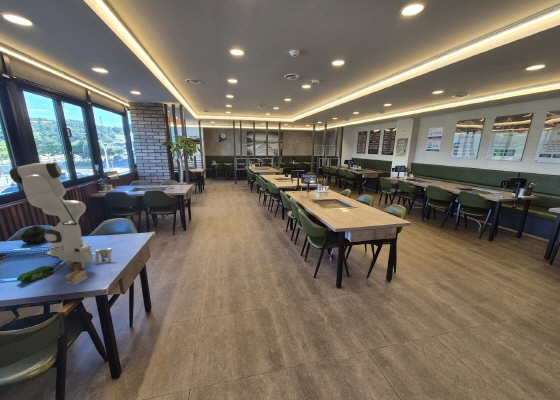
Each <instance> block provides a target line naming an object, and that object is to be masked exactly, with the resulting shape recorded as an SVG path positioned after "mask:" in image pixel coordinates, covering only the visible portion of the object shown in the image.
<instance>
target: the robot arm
mask: <svg viewBox="0 0 560 400" xmlns="http://www.w3.org/2000/svg"><path fill="white" fill-rule="evenodd" d="M62 173H63V172H62V168H61V167H60V165H58V163H56V162H55V161H46V162H36V163H35V162H34V163H31V164H30V163H29V164H25V165H21V166H19V165H18V166H15V167H11V169H10V170H9V177H10V178H11V180H12V181H13V182H14V183H15V184H18V185H21V186H22V188H23V192H24V194H25V196H26V198H27V201H28V202H29V204H30V205H31V206H33V207H34V208H39V209H41V210H42V212H43V213H44V214H46V215H48V216H49V215H50V216H57V217H58V219H59V220H60V222H58V223H57V225H55V226H52V227H49V228H47V229H46V231H45V232H44V238H45V241H46V242H48V243H50V247H49V249H50V250H49V251H47V252H45V253H46V255H49V256H53V257H57V258H58V260H60V261H64V262H66V264H67V265H68V266H69V264H70V263H72V262H81V264H82V265H81V266H80V267H81V268H82V269H85V268H86V263H90V262H92V260H93V252H92V247H91V245H90V244H88V243H85V242H84V241H83V238H82V231H81V226H80V224H79V219H80V217H81V216H82V215H83V214H85V212H86V209H87V205H86V204H85V203H84V202H83V201H80V200H74V199H72V200H69V199H67V200H66V199H64V196H65V194H66V192H67V190H66V188H65V186H64V185H63V183H62V181H61V180H60V178H59V177H61V176H62Z"/></svg>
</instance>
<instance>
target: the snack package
mask: <svg viewBox="0 0 560 400" xmlns="http://www.w3.org/2000/svg"><path fill="white" fill-rule="evenodd" d="M54 270H55V268H54V266H51V265H49V266H48V265H43V266H42V265H41V266H39V267H37V268H34V269H31V270H29V271H28V270H27V271H25V272H23V273H21V274H20V275H18V277H17V278H16V281H19V282H20V283H23V282H25V283H31V282H34V281H36V280H39V278H40V279H42V278H44V277H47V276H49V275H51V274H52V273H53V272H54Z"/></svg>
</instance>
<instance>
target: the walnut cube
mask: <svg viewBox="0 0 560 400" xmlns="http://www.w3.org/2000/svg"><path fill="white" fill-rule="evenodd" d="M71 262H72V263H70V264H69V265H68V267H69V271H73V272H74V271H76V270H79V271H81V270H83V268H81V267H80V266H81V265H82V264H81V262H73V261H71Z"/></svg>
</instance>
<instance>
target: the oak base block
mask: <svg viewBox="0 0 560 400" xmlns="http://www.w3.org/2000/svg"><path fill="white" fill-rule="evenodd" d="M86 277H88V276H87V272H86V271H85V270H76V271H73V272H70V273H68V274H66V275H65V278H66V282H71V283H70V284H74V283H77V284H79V283H80V282H79V281H81V280H82V281H84V280H86V279H87V278H86ZM85 278H86V279H85ZM83 279H84V280H83ZM82 281H81V282H82ZM78 282H79V283H78Z"/></svg>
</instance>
